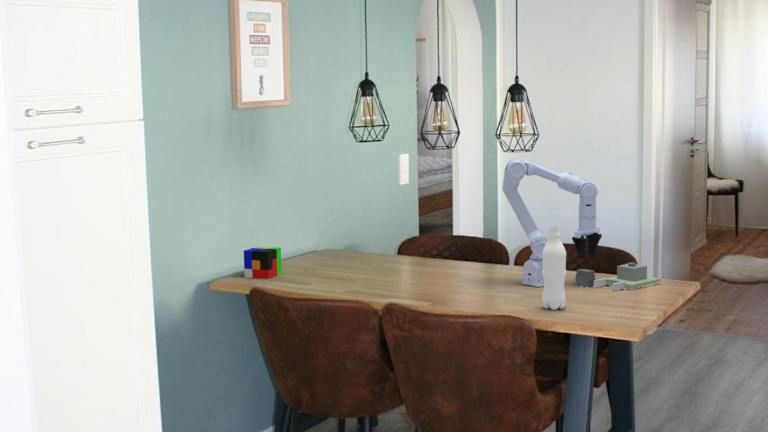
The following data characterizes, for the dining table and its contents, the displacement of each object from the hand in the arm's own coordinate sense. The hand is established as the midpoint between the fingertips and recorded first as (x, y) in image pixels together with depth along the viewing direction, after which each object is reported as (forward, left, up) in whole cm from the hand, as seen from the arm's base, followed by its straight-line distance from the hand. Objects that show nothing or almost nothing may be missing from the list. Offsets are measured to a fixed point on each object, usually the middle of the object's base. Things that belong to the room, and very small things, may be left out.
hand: (586, 256), depth 326 cm
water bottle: (-36, -17, -10) cm, 42 cm away
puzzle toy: (-73, +91, -10) cm, 117 cm away
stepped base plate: (+7, -11, -9) cm, 16 cm away
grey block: (-3, -2, -10) cm, 10 cm away
